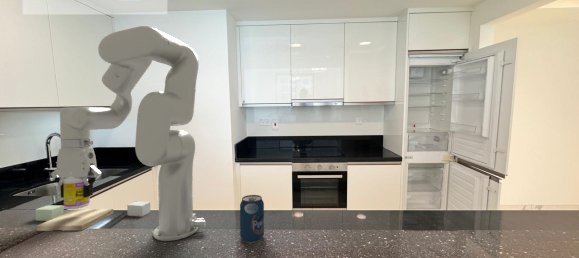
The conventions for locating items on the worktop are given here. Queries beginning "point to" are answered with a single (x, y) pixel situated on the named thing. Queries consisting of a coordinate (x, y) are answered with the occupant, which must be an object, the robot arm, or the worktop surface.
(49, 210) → the green block
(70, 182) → the supplement bottle
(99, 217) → the birch board
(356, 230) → the worktop surface
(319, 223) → the worktop surface
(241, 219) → the soda can
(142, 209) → the white block
